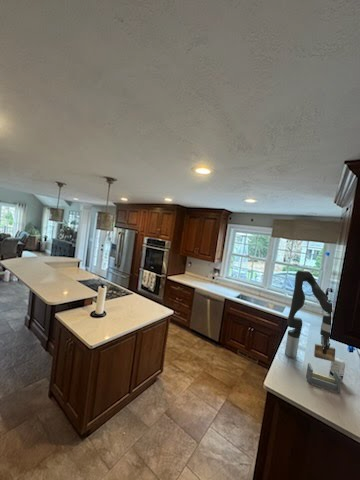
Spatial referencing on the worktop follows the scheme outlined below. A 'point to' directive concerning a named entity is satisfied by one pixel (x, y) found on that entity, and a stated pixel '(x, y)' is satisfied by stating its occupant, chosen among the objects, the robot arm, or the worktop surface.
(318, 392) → the worktop surface
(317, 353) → the door panel
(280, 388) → the worktop surface
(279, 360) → the worktop surface
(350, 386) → the worktop surface
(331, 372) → the supplement can
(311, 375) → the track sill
